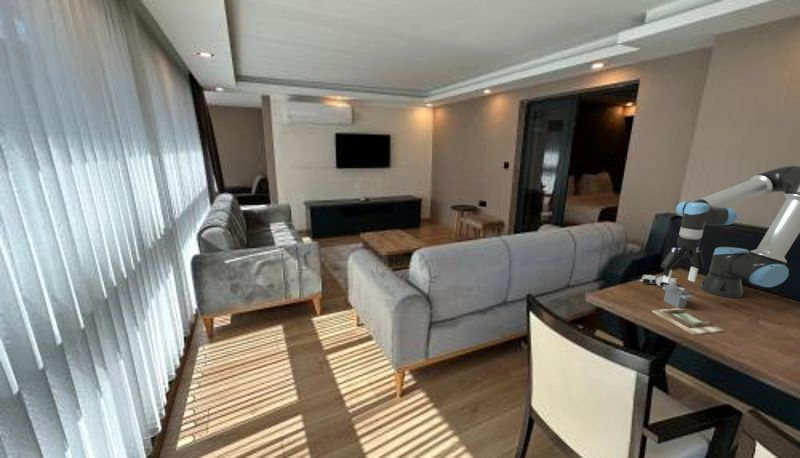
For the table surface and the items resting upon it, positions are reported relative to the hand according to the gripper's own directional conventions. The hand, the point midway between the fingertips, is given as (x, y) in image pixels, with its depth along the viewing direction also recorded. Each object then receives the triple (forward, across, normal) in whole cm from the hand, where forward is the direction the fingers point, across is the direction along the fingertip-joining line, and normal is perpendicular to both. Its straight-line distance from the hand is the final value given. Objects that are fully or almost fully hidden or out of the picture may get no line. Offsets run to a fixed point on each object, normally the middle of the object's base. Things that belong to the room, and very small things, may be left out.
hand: (678, 281), depth 146 cm
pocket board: (+12, +9, +14) cm, 20 cm away
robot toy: (+12, -13, -20) cm, 26 cm away
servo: (+11, -1, 0) cm, 11 cm away
